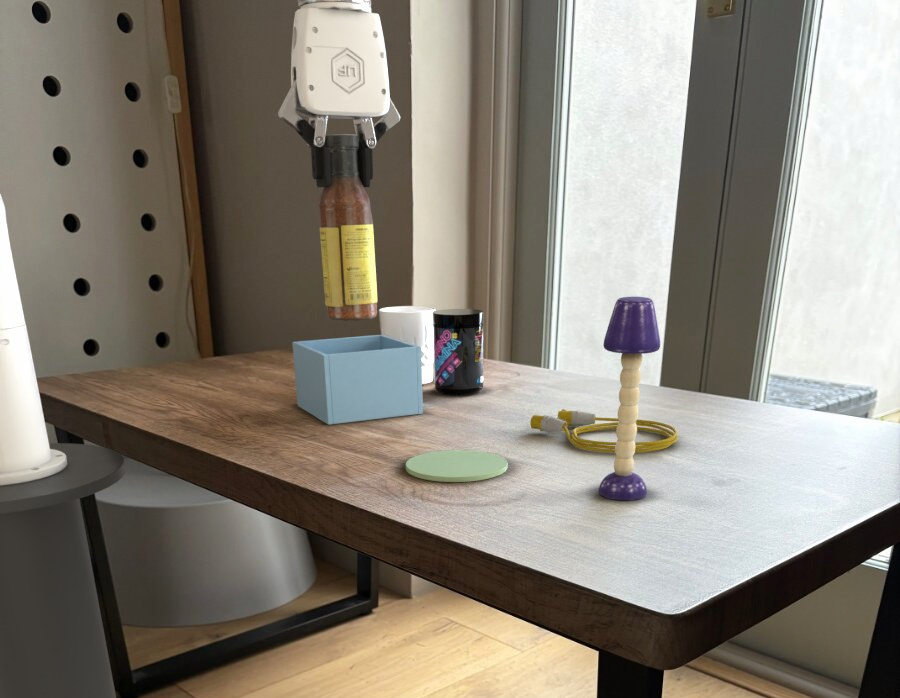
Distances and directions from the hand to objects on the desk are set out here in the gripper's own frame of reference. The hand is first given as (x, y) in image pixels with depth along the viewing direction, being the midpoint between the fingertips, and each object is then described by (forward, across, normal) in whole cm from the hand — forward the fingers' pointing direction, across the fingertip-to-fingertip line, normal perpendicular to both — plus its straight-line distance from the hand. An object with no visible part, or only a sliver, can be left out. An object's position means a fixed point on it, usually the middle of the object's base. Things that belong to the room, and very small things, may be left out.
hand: (343, 185), depth 106 cm
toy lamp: (+26, +9, -45) cm, 52 cm away
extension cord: (+26, +20, -27) cm, 42 cm away
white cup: (+26, +14, +14) cm, 32 cm away
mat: (+26, 0, -30) cm, 39 cm away
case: (+26, +1, 0) cm, 26 cm away
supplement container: (+26, +17, +4) cm, 31 cm away
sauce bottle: (+15, 0, 0) cm, 15 cm away
